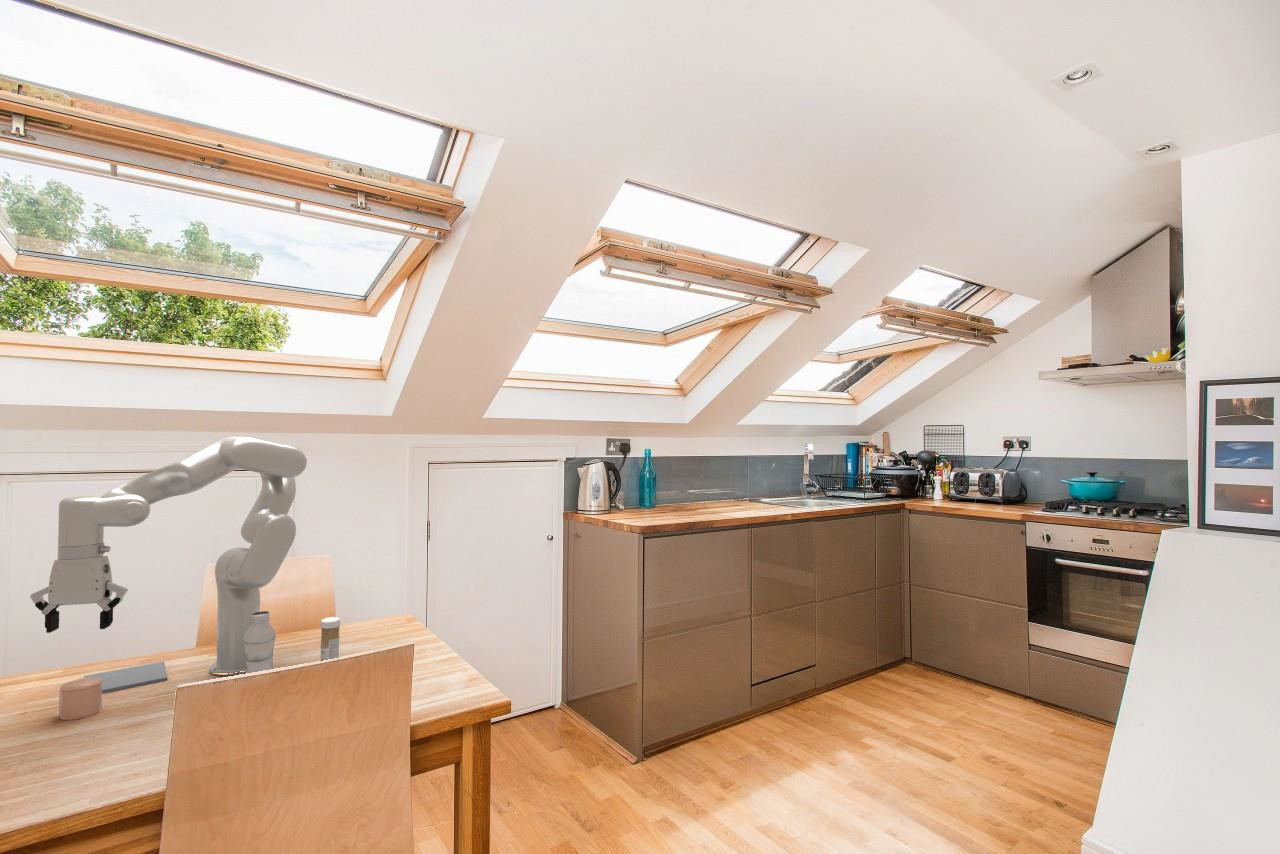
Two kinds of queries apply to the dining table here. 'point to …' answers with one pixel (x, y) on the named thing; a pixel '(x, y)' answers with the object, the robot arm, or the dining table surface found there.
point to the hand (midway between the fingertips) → (79, 629)
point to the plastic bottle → (259, 643)
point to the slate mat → (131, 676)
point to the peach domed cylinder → (80, 698)
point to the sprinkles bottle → (330, 638)
